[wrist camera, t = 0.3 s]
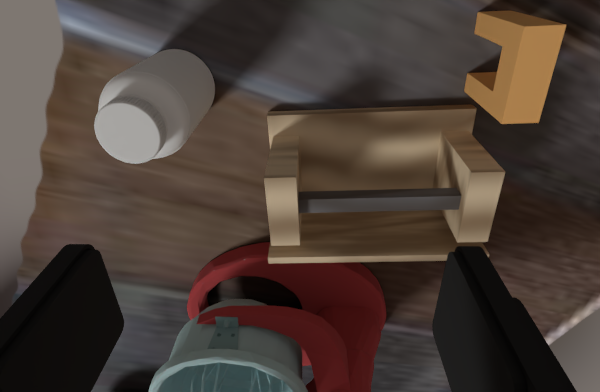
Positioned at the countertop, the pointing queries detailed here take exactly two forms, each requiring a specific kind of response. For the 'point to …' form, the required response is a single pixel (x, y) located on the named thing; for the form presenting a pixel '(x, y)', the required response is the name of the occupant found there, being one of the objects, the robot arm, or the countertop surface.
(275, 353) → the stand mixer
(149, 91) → the pill bottle
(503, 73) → the upright wooden block
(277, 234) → the wooden vise
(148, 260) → the countertop surface
